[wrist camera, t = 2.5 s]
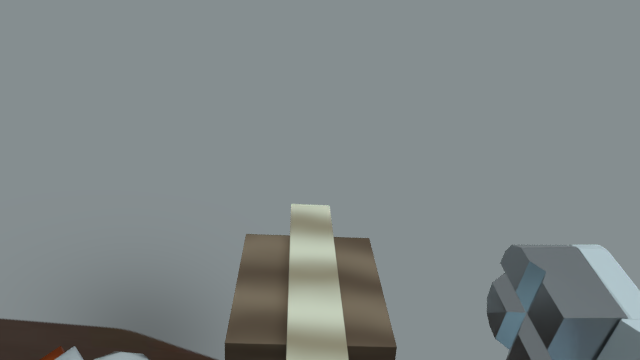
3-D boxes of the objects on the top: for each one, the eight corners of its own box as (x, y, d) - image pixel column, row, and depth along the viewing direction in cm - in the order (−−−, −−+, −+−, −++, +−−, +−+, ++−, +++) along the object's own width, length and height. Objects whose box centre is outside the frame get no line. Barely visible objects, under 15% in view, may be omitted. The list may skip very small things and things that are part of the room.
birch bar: (350, 466, 25) (355, 413, 24) (282, 465, 25) (284, 412, 24) (327, 239, 46) (329, 205, 45) (290, 238, 45) (291, 203, 44)
